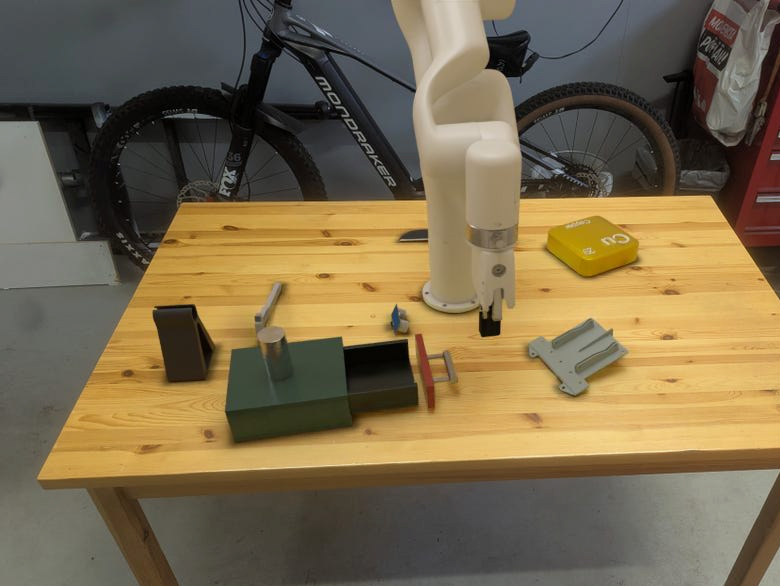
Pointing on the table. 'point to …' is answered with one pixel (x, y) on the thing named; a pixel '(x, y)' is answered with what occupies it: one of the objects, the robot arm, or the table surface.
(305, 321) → the table surface
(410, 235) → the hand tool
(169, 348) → the phone stand
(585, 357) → the metal bracket
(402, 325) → the ultrasonic sensor
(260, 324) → the grey bent bar
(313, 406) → the cabinet
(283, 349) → the tin
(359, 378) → the drawer
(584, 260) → the element tile
